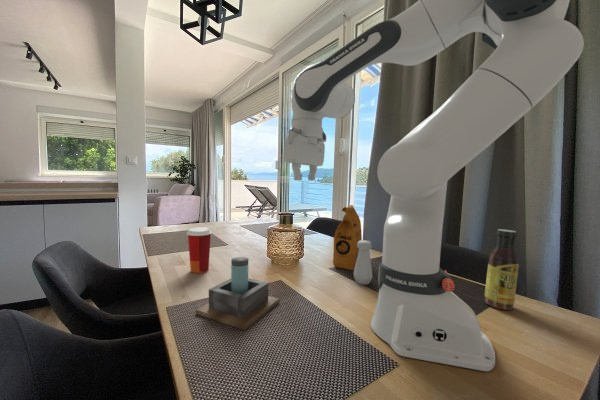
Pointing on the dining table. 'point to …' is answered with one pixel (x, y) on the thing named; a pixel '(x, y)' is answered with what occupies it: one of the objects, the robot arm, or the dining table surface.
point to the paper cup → (199, 249)
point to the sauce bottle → (502, 272)
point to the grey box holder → (238, 304)
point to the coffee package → (347, 240)
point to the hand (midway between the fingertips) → (305, 180)
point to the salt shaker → (363, 263)
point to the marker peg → (239, 275)
